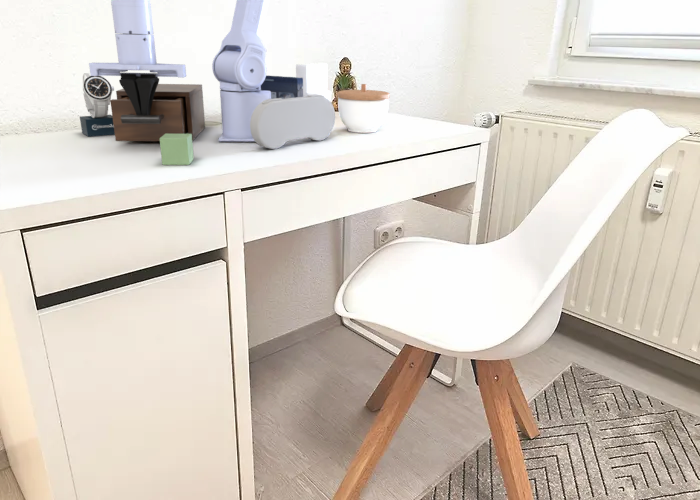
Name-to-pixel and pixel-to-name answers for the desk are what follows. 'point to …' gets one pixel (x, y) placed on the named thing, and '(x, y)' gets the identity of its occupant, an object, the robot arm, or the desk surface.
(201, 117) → the cabinet
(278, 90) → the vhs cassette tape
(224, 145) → the desk surface
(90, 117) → the watch
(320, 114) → the game controller
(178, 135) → the block
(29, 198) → the desk surface
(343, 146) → the desk surface
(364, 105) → the trinket box
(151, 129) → the drawer
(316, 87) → the base with upright slab
